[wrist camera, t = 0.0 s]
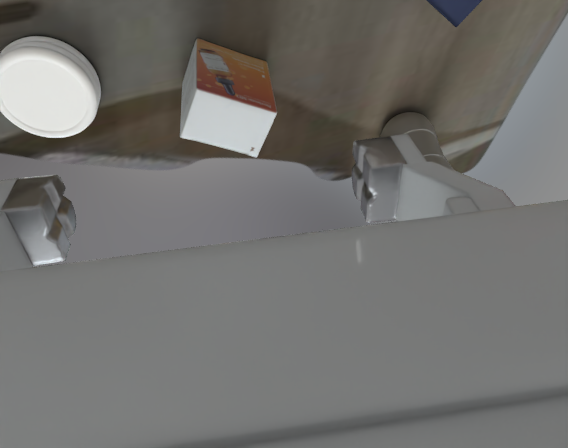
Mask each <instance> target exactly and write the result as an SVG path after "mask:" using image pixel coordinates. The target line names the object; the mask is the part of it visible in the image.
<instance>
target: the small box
mask: <svg viewBox="0 0 568 448" xmlns="http://www.w3.org/2000/svg"><path fill="white" fill-rule="evenodd" d="M276 114H277V110H276V105H275V99H274V95H273V90H272V84H271V80H270V74H269V70H268V64H267V62H266V61H263V60H260V59H256V58H253V57H250V56H247V55H244V54H241V53H238V52H235V51H233V50H230V49H227V48H224V47H221V46H218V45H216V44H213V43H210V42H207V41H204V40H202V39H199V38H197V39H196V41H195V44H194V47H193V50H192V53H191V57H190V60H189V63H188V66H187V70H186V73H185V76H184V80H183V84H182V104H181V125H180V137H181V138H185V139H190V140H194V141H198V142H202V143H206V144H210V145H214V146H218V147H221V148H225V149H229V150H233V151H236V152H240V153H243V154H247V155H249V156H253V157H257V156H258V154H259V151H260V149H261V147H262V145H263V143H264V140H265V138H266V136H267V134H268V132H269V130H270V127H271V125H272V123H273V121H274V118H275V116H276Z"/></svg>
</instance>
